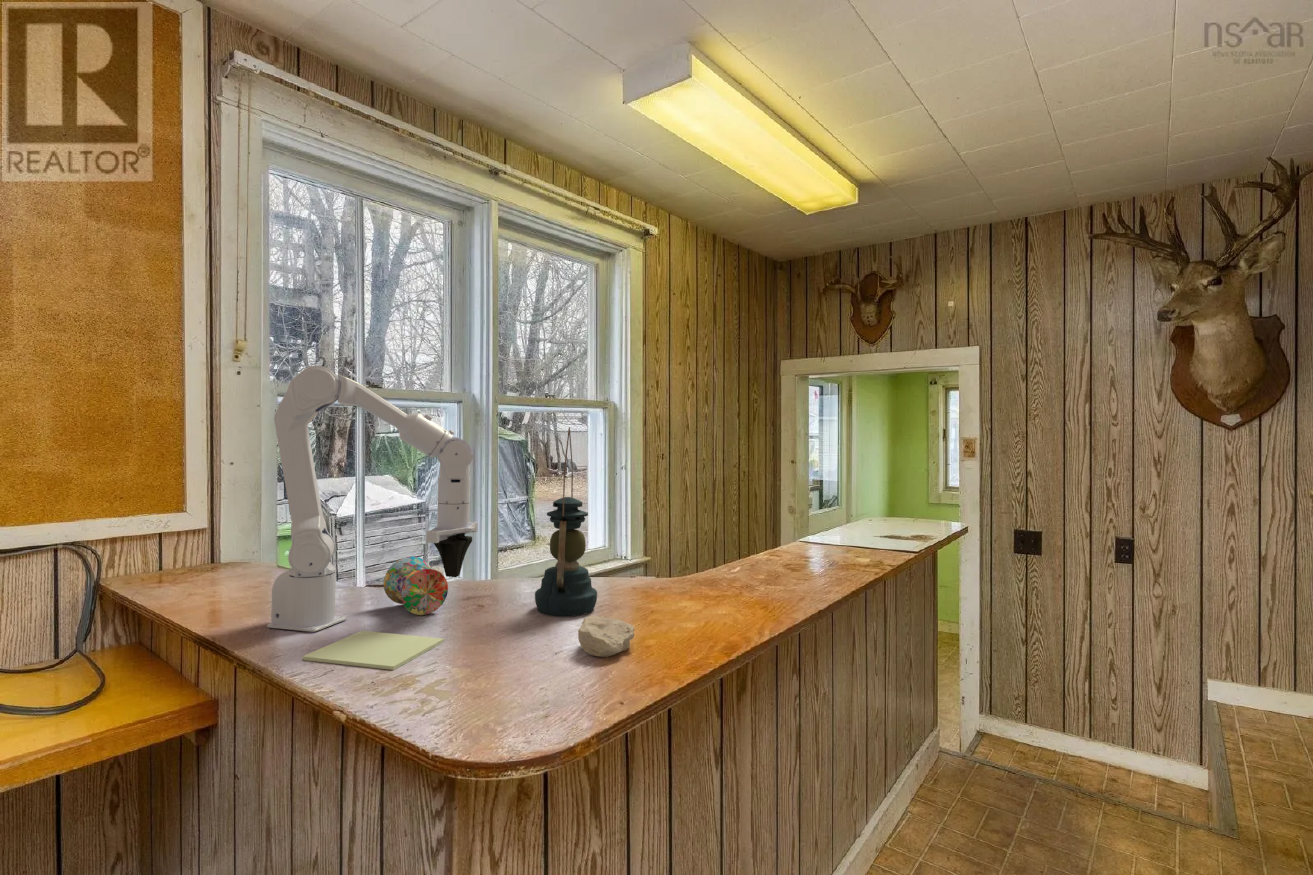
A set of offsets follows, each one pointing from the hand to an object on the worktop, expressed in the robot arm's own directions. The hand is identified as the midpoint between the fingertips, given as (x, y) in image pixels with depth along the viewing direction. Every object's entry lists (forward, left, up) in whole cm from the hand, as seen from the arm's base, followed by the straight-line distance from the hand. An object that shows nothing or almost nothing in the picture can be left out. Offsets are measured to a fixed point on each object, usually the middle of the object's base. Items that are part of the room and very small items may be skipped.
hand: (452, 576), depth 120 cm
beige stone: (+33, -11, -7) cm, 36 cm away
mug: (-2, -2, -3) cm, 5 cm away
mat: (0, -22, -7) cm, 23 cm away
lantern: (+19, +9, -7) cm, 22 cm away
